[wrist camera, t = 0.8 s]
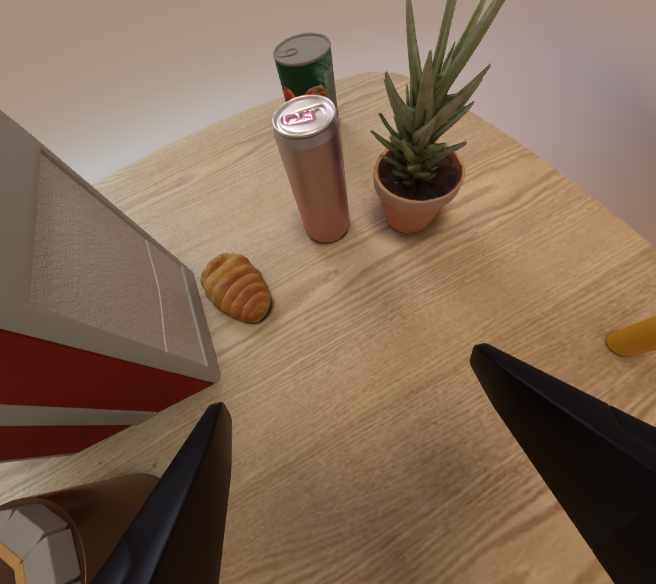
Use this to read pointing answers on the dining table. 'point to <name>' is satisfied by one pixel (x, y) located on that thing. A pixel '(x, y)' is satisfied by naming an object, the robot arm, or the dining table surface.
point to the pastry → (236, 287)
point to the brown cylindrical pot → (92, 517)
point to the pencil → (634, 338)
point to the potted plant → (427, 126)
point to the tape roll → (38, 545)
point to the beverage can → (314, 163)
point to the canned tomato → (306, 66)
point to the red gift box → (85, 311)
